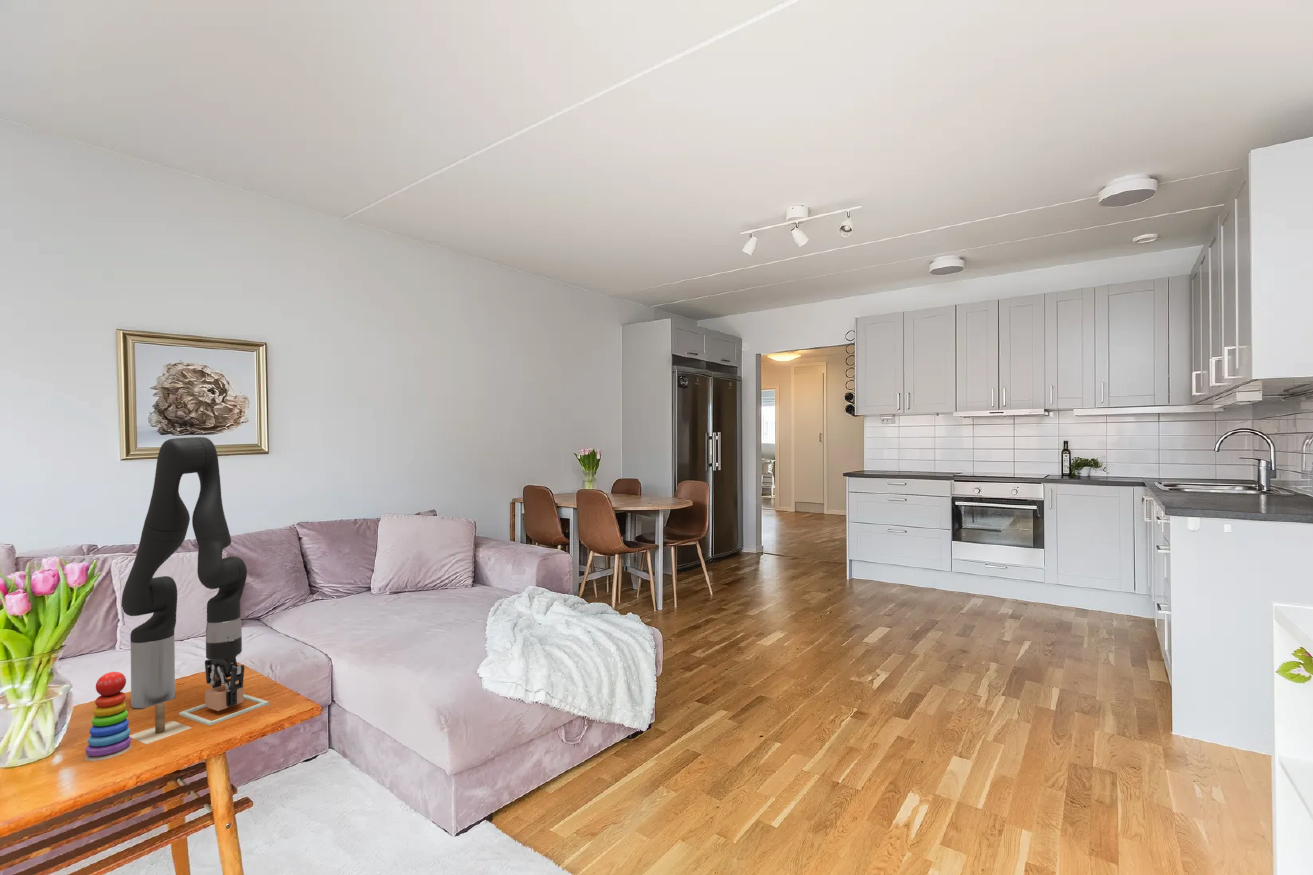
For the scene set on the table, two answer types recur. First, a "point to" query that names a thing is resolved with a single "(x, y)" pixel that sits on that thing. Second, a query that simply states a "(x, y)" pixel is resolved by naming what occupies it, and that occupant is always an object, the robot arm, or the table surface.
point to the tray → (208, 722)
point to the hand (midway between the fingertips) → (224, 702)
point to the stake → (159, 727)
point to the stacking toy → (109, 720)
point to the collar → (220, 697)
